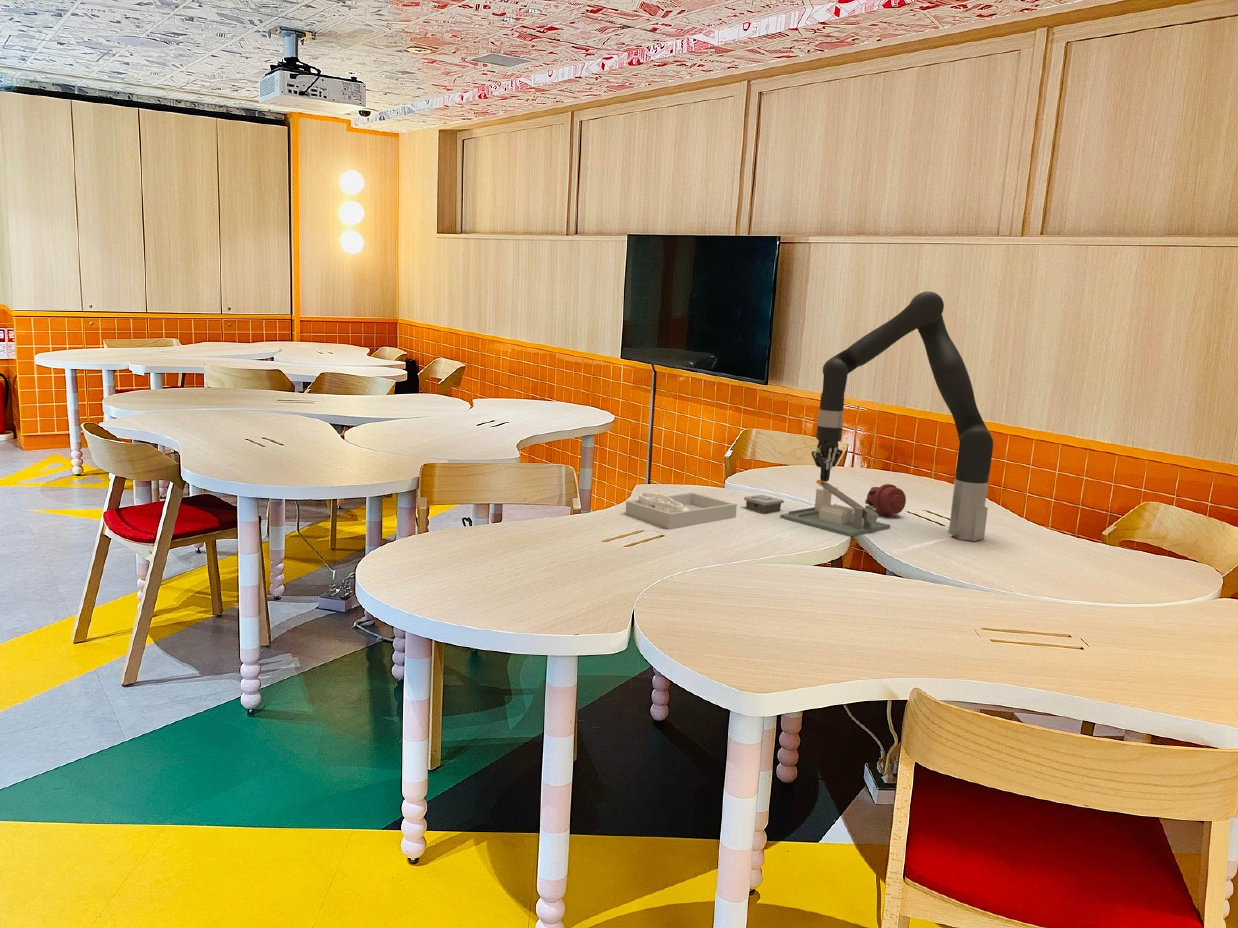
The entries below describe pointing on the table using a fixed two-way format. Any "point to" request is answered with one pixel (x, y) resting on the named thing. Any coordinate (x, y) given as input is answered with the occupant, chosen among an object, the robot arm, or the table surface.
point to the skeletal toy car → (662, 502)
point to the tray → (698, 513)
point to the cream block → (822, 498)
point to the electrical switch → (763, 503)
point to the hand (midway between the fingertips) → (824, 480)
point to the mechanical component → (886, 499)
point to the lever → (849, 501)
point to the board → (834, 526)
